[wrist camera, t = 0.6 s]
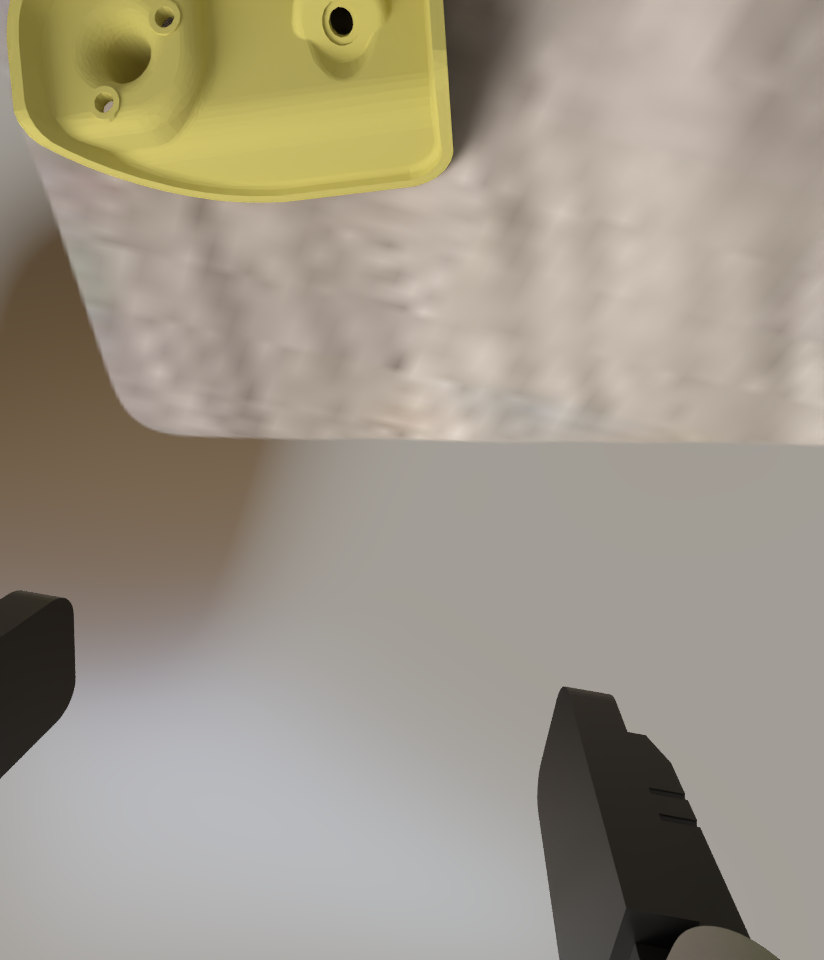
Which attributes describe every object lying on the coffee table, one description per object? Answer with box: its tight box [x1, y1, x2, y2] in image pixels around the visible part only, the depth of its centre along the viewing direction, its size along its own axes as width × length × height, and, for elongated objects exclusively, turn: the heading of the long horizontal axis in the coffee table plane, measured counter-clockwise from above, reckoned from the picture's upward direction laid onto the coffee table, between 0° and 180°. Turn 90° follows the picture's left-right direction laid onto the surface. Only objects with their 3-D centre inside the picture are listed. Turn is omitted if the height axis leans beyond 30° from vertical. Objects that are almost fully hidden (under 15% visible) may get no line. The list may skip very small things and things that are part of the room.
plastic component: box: [7, 0, 453, 203], centre depth 29 cm, size 20×7×10 cm
